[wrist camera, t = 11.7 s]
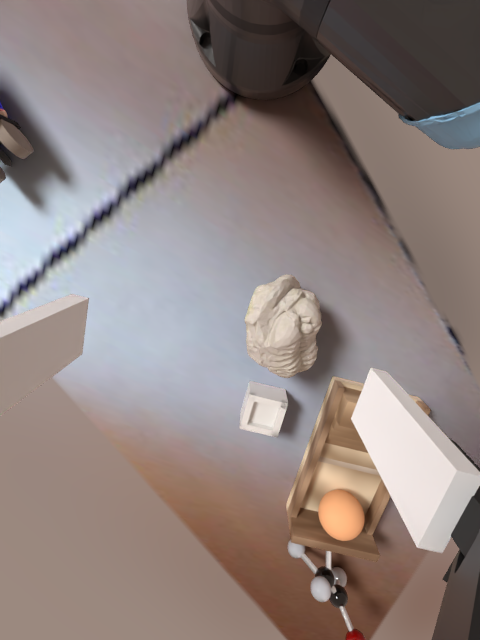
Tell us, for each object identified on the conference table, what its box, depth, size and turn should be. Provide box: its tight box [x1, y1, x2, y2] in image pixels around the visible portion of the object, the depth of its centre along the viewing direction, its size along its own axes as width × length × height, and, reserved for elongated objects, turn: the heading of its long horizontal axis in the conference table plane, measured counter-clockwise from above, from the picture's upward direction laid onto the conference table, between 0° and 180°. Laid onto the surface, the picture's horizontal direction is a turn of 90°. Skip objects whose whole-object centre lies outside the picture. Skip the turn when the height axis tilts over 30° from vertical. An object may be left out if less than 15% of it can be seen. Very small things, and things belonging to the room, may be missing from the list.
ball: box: [318, 490, 365, 541], centre depth 45 cm, size 6×6×6 cm
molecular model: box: [288, 539, 365, 640], centre depth 47 cm, size 8×12×11 cm
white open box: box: [240, 381, 288, 437], centre depth 44 cm, size 5×5×4 cm
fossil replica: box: [245, 275, 322, 378], centre depth 37 cm, size 12×8×10 cm
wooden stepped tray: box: [286, 376, 431, 562], centre depth 44 cm, size 22×12×6 cm, turn 166°
